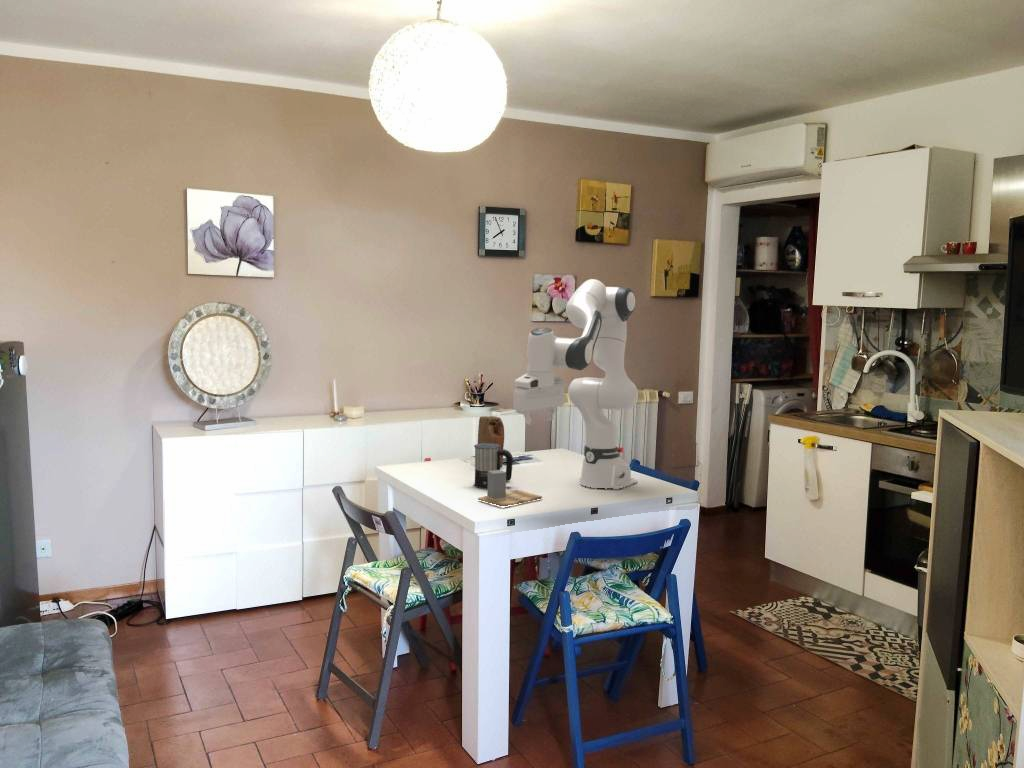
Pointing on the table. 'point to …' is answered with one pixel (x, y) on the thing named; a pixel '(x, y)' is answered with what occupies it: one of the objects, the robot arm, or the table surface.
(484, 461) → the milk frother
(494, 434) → the block
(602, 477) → the robot arm
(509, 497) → the board
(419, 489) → the table surface
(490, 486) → the block
